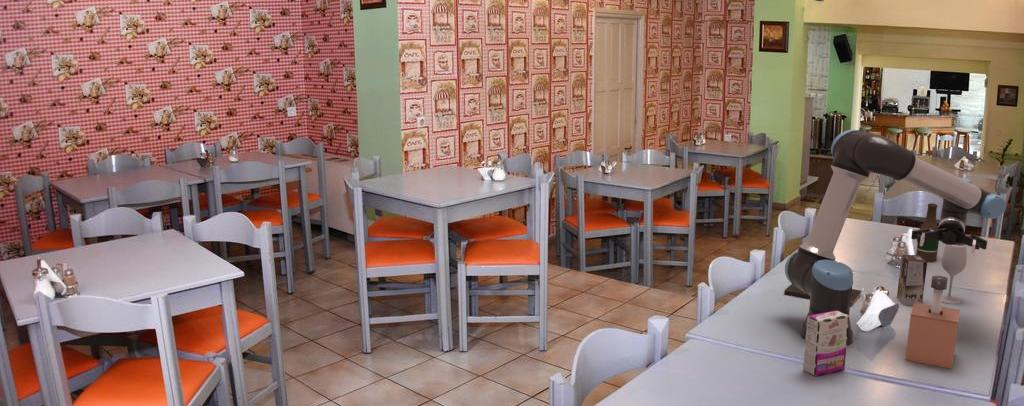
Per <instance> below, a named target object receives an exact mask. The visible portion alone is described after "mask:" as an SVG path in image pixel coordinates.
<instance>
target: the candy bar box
mask: <svg viewBox="0 0 1024 406" xmlns="http://www.w3.org/2000/svg"><path fill="white" fill-rule="evenodd" d="M806 316H807V315H806ZM849 319H850V314H849V315H847V314H844V313H842V312H840V311H832V312H826V313H821V314H816V315H810V316H807V326H806V339H805V342H804V354H803V355H804V356H803V368H802V369H803V371H804V372H806V373H808V374H810V375H812V376H814V377H819V376H823V375H827V374H831V373H837V372H840V371H844V370H845V369H846V368H845V367H846V354H847V353H846V352H847V346H848V345H847V334H848V322H849Z"/></svg>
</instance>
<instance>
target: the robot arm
mask: <svg viewBox="0 0 1024 406" xmlns="http://www.w3.org/2000/svg"><path fill="white" fill-rule="evenodd" d="M830 153H831V156H832V158H833V159H832V162H831V165H830V168H831V169H832V172H833V174H832V175H831V178H830V181H829V184H828V186H827V189H826V191H825V194H824V196H823V199H822V202H821V204H820V206H819V209H818V211H817V214H816V216H815V219H814V222H813V225H812V227H811V230H810V232H809V234H808V237H807V240H806V241H805V242H804V243H802V244H800V245H799V247H798V249H797V251H795V252H793V254H791V255H789V256H788V257H787V259H786V262H785V265H784V274H785V277H786V280H788V282H790V284H793V286H795V287H796V288H798V289H800V290H802V291H803V292H805V293H806V294H808V295H810V299H809V307H808V311H807V314H806V317H805V318H804V321H803V324H802V325H801V328H800V330H801V331H800V336H801V337H802V338H804V339H805V340H806V326H807V316H810V315H816V314H821V313H826V312H832V311H840V312H842V313H844V314H847V315H849V316H850V312H851V311H850V310H851V307H850V302H851V293H852V289H853V285H854V273H853V270H852V268H851V267H850V266H849V265H847V264H845V263H843V262H839V261H838V260H837V261H836V259H837V258H836V256H835V254H834V251H835V247H836V246H837V243H838V240H839V238H840V236H841V233H842V230H843V228H844V225H845V223H846V220H847V218H848V216H849V212H850V210H851V208H852V205H853V203H854V201H855V197H856V196H857V192H858V190H859V188H860V185H861V183H862V182H864V181H866V180H868V178H869V176H870V174H871V173H872V174H877V175H881V176H885V177H888V178H891V179H893V180H895V181H902V180H903V181H905V182H907V183H910V184H912V185H914V186H916V187H918V188H920V189H923V190H925V191H927V192H928V193H931V194H933V195H936V196H938V197H940V198H942V206H941V210H940V211H941V212H940V218H939V223H938V225H937V226H938V229H936V230H935V231H932V230H931V229H930V228H929V227H926V228H925V229H920V228H919V229H920V230H919V229H915V230H912V232H911V238H910V239H911V240H916V243H920V246H923V243H924V240H936V241H939V242H941V243H942V244H945V245H946V244H947V245H954V244H957V243H958V244H965V245H966V246H968V247H971V254H973V255H974V254H975V250H980V249H983V250H987V246H988V240H986V239H984V238H982V237H980V236H979V235H976V233H975V232H974V233H970V234H969V235H966V233H965V230H966V227H967V217H968V212H969V213H973V214H974V215H978V216H981V217H982V218H983V217H984V218H986V219H992V220H995V219H998V218H1000V217H1002V216H1003V214H1005V213H1004V212H1006V210H1007V202H1006V200H1005V198H1004V197H1002V196H1001V195H998V194H996V193H992V192H989V191H987V190H985V189H984V188H981V187H978V186H977V185H974V184H973V182H972V180H971V179H970V178H965V177H958V176H955V175H954V174H952V173H950V172H947V171H946V170H943V169H941V168H939V167H937V166H935V165H933V164H931V163H928V162H927V161H925V160H922V159H921V158H918V157H917V155H916V153H915V152H914V151H912V150H910V149H908V148H906V147H904V146H903V145H901V144H899V143H897V142H896V141H894V140H893V139H890V138H888V137H886V136H884V135H881V134H877V133H871V132H868V131H864V130H861V129H848V130H845V131H843V132H841V133H839V134H838V135H837V136H836V137H835V138H834V140H833V141H832V144H831V148H830ZM853 341H854V331H853V329H852V324H851V319H850V318H849V322H848V334H847V345H846V346H848V345H850V344H852V343H853Z"/></svg>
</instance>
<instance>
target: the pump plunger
mask: <svg viewBox="0 0 1024 406" xmlns="http://www.w3.org/2000/svg"><path fill="white" fill-rule="evenodd" d="M948 279H949V278H948V277H946V276H942V275H932V276H931V283H930V288H932V289H933V294H932V300H931V301H932V302H931V305H932V307H931V313H934V314H940V311H941V307H942V303H943V302H942V297H943V295H944V291H945V290H947V288H948V281H949V280H948Z"/></svg>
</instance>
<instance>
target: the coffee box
mask: <svg viewBox="0 0 1024 406" xmlns="http://www.w3.org/2000/svg"><path fill="white" fill-rule="evenodd" d="M900 255H901V256H900V264H899V265H900V266H899V272H898V273H899V274H898V281H897V282H898V283H897V294H896V298H897V299H898V300H899V302H900V303H901V304H902V305H904V306H914V303H922V304H923V299H924V293H925V292H924V290H925V286H926V285H925V283H926V276H927V268H928V263H929V262H927V261H926V260H925V259H923V258H922V257H921V256H920V255H916V254H900Z"/></svg>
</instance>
